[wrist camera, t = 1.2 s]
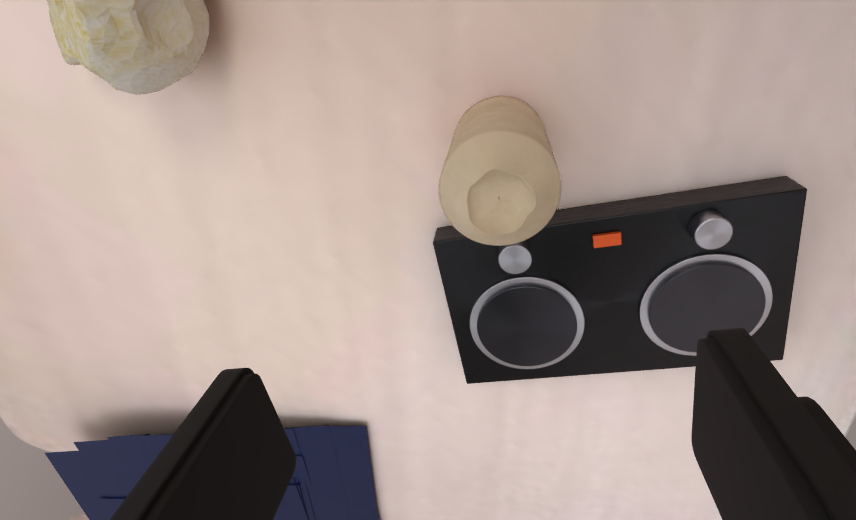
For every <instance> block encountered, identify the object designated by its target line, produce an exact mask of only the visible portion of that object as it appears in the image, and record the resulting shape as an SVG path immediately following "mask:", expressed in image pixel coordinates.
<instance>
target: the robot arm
mask: <svg viewBox="0 0 856 520" xmlns="http://www.w3.org/2000/svg"><path fill="white" fill-rule="evenodd" d="M692 446H693V451H694V454H695V457H696V460H697V462H698V464H699V467H700V469H701V471H702V474H703V476H704V478H705V480H706V483H707V485H708V487H709V490H710V492H711V494H712V497H713V499H714V501H715V503H716V506H717V508H718V510H719V513H720V515H721V517H722V520H856V450H855V449H854V448H853V447H852V445H851V444H850V443H849V442H848V440H847V439H846V438H845V437H844V435H843V434H842V433H841V432H840V430H839V429H838V428H837V427H836V425H835V424H834V423H833V421H832V420H831V419H830V418H829V416H828V415H827V414H826V413H825V411H824V410H823V409H822V408H821V407H820V406H819V405H818V404H817V403H816V402H815V401H814V400H813V399H811V398H809V397H797V396H796V395H795V393H794V392H793V391H792V389H791V388H790V387H789V385H788V384H787V383H786V382H785V380H784V379H783V378H782V376H781V375H780V374H779V372H778V371H777V370H776V368H775V367H774V366H773V364H772V363H771V362H770V360H769V359H768V358H767V357H766V355H765V354H764V353H763V351H762V350H761V349H760V347H759V346H758V345H757V343H756V342H755V341H754V339H753V338H752V337H751V335H750V334H749V333H748V332H747V331H746V330H745V329H744V328H733V329H720V330H710V331H709V332H708V334H707V338H704V339H699V340H698V342H697V353H696V370H695V388H694V405H693V422H692ZM295 467H296V455H295V452H294V450H293V448H292V446H291V444H290V441H289V439H288V437H287V435H286V433H285V430H284V428H283V426H282V424H281V422H280V419H279V417H278V415H277V413H276V411H275V408H274V406H273V404H272V402H271V400H270V397H269V395H268V393H267V391H266V389H265V386H264V384H263V382H262V380H261V378H260V376H259V375H258V374H254V372H253V371H252V370H251V369H250V368H238V369H226V370H223V371H222V372H221V373H220V374H219V375H218V376H217V377H216V379H215V380H214V381H213V383H212V384H211V385H210V387H209V388H208V389H207V391H206V392H205V393H204V395H203V396H202V397H201V399H200V400H199V401H198V403H197V404H196V405H195V407H194V408H193V409H192V411H191V412H190V413H189V415H188V416H187V417H186V419H185V420H184V421H183V423H182V424H181V425H180V427H179V428H178V429H177V431H176V432H175V433H174V435H173V436H172V437H171V439H170V440H169V441H168V443H167V444H166V445H165V447H164V448H163V449H162V451H161V452H160V453H159V455H158V456H157V457H156V459H155V460H154V461H153V463H152V464H151V465H150V467H149V468H148V469H147V471H146V472H145V473H144V475H143V476H142V477H141V479H140V480H139V481H138V483H137V484H136V485H135V487H134V488H133V489H132V491H131V492H130V493H129V495H128V496H127V497H126V499H125V500H124V501H123V503H122V504H121V505H120V507H119V508H118V509H117V511H116V512H115V513H114V515H113V516H112V517H111V519H110V520H273V519H274V517H275V514H276V512H277V510H278V508H279V505H280V503H281V501H282V498H283V496H284V494H285V491H286V489H287V487H288V485H289V482H290V480H291V478H292V475H293V473H294V470H295Z"/></svg>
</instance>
